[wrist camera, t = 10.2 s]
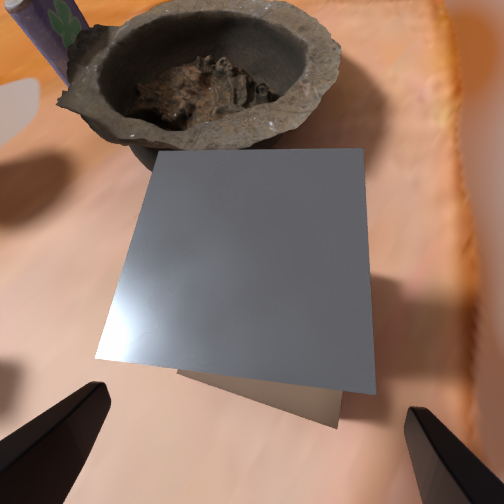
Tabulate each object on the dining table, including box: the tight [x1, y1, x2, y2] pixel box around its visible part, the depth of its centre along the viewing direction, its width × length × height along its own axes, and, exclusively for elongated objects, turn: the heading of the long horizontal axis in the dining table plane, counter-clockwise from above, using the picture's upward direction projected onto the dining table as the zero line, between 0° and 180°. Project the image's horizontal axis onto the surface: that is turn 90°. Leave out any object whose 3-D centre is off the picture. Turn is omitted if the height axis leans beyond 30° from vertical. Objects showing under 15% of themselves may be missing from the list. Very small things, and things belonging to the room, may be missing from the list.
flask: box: [4, 0, 90, 88], centre depth 32 cm, size 10×3×12 cm, turn 177°
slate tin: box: [95, 148, 376, 395], centre depth 12 cm, size 6×6×12 cm
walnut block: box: [177, 369, 343, 429], centre depth 20 cm, size 10×10×4 cm
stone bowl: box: [55, 0, 342, 172], centre depth 27 cm, size 25×25×9 cm
